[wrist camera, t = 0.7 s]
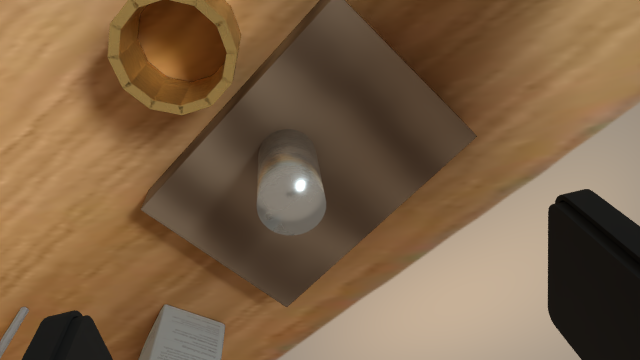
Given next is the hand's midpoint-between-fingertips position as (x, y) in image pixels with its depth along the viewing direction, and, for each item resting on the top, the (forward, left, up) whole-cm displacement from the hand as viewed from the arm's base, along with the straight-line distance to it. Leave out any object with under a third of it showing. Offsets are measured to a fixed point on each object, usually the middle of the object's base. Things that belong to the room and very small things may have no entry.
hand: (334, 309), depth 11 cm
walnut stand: (+6, +7, -28) cm, 29 cm away
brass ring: (+5, -5, -28) cm, 29 cm away
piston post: (+6, +5, -25) cm, 26 cm away
